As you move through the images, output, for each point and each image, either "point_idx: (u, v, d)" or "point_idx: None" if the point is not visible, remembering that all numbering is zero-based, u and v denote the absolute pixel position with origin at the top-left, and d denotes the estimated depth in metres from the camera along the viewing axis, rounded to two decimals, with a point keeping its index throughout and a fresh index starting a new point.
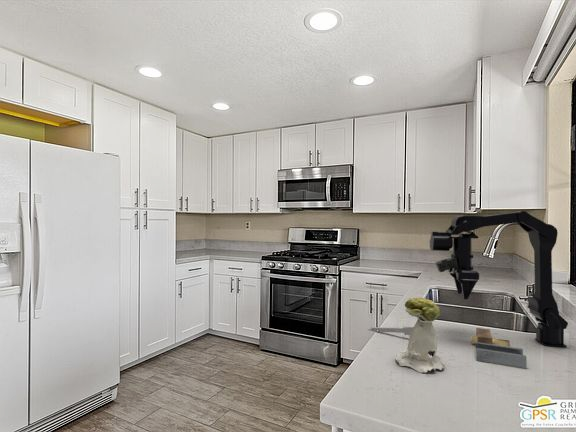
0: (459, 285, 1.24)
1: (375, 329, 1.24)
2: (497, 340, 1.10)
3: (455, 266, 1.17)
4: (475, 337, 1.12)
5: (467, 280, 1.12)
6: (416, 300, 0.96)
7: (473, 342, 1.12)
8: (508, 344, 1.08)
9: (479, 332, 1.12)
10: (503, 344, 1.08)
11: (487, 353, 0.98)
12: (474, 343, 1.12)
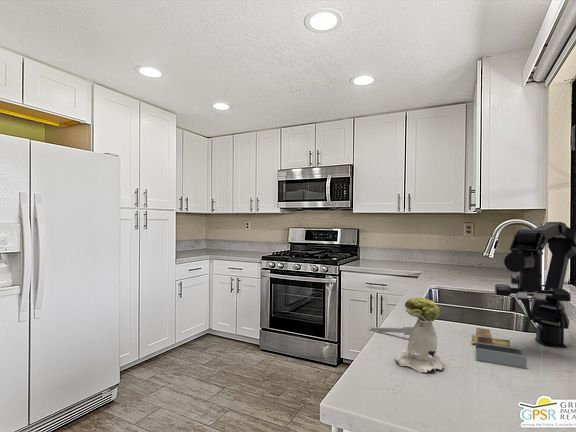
0: (531, 310, 1.07)
1: (375, 329, 1.24)
2: (497, 340, 1.10)
3: (517, 283, 1.11)
4: (475, 337, 1.12)
5: (516, 296, 1.09)
6: (416, 300, 0.96)
7: (473, 342, 1.12)
8: (508, 344, 1.08)
9: (479, 332, 1.12)
10: (503, 343, 1.08)
11: (487, 353, 0.98)
12: (474, 343, 1.12)
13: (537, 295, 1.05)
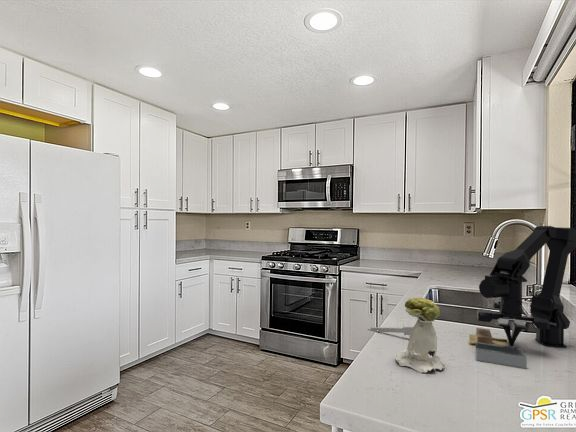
0: (511, 336, 1.09)
1: (375, 329, 1.24)
2: (495, 340, 1.09)
3: (499, 309, 1.13)
4: (473, 337, 1.12)
5: (498, 322, 1.10)
6: (416, 300, 0.96)
7: (471, 342, 1.12)
8: (506, 344, 1.08)
9: (479, 332, 1.12)
10: (501, 344, 1.08)
11: (487, 353, 0.98)
12: (472, 343, 1.12)
13: (517, 321, 1.07)
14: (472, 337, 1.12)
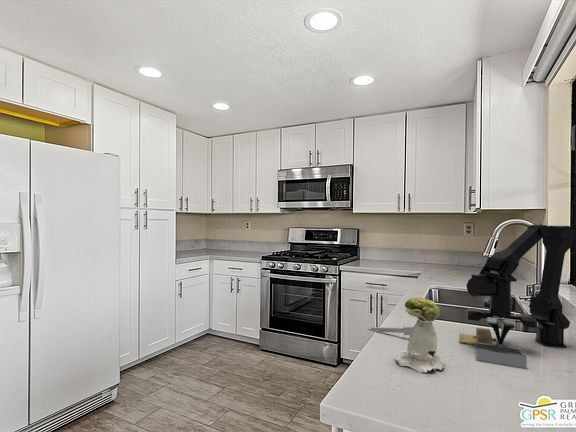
0: (500, 335, 1.10)
1: (375, 329, 1.24)
2: None
3: (489, 308, 1.14)
4: (462, 337, 1.13)
5: (487, 321, 1.12)
6: (416, 300, 0.96)
7: (460, 341, 1.13)
8: (494, 343, 1.09)
9: (479, 332, 1.12)
10: None
11: (487, 353, 0.98)
12: (461, 342, 1.14)
13: (506, 320, 1.09)
14: (462, 336, 1.13)
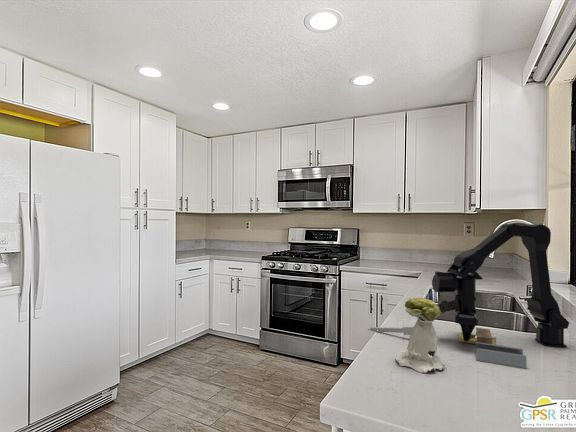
0: None
1: (374, 329, 1.24)
2: None
3: (456, 308, 1.13)
4: None
5: None
6: (416, 300, 0.96)
7: (461, 339, 1.14)
8: (494, 341, 1.10)
9: (479, 332, 1.12)
10: None
11: (487, 353, 0.98)
12: (462, 340, 1.14)
13: None
14: (462, 334, 1.14)
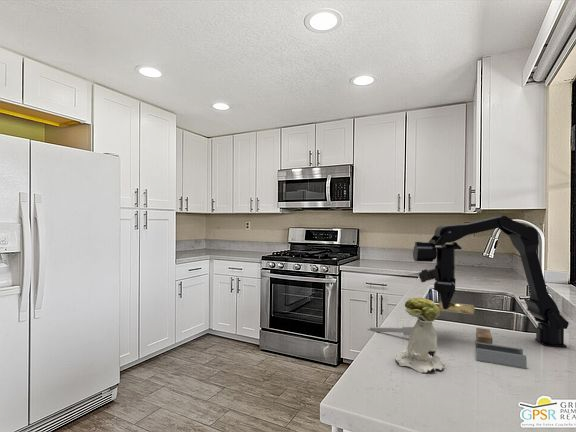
0: None
1: (374, 329, 1.24)
2: (463, 305, 1.14)
3: (436, 277, 1.16)
4: None
5: (444, 290, 1.13)
6: (416, 300, 0.96)
7: (440, 308, 1.17)
8: (473, 308, 1.12)
9: (479, 332, 1.12)
10: (468, 308, 1.13)
11: (487, 353, 0.98)
12: (441, 309, 1.17)
13: None
14: None
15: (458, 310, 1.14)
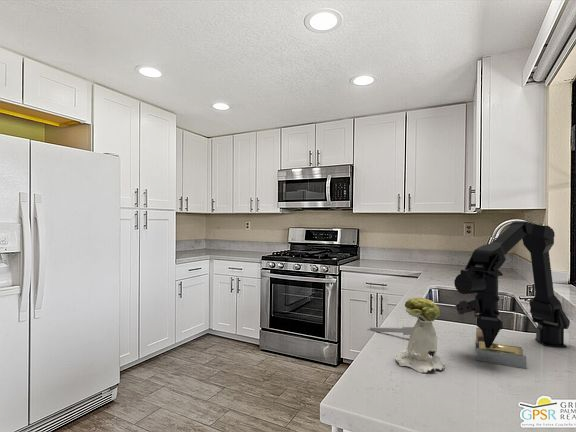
0: None
1: (374, 329, 1.24)
2: (508, 347, 0.98)
3: (476, 309, 1.00)
4: (483, 344, 1.01)
5: None
6: (416, 300, 0.96)
7: None
8: (520, 352, 0.97)
9: (479, 332, 1.12)
10: (515, 351, 0.97)
11: (487, 353, 0.98)
12: None
13: None
14: (482, 344, 1.01)
15: None
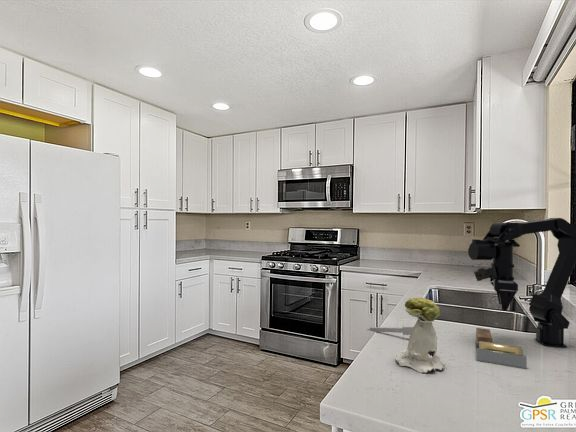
0: None
1: (374, 329, 1.25)
2: (508, 347, 0.98)
3: (493, 275, 1.12)
4: (483, 344, 1.01)
5: (504, 291, 1.07)
6: (416, 300, 0.96)
7: None
8: (520, 352, 0.97)
9: (479, 332, 1.12)
10: (515, 351, 0.97)
11: (487, 353, 0.98)
12: None
13: None
14: (482, 343, 1.01)
15: None
